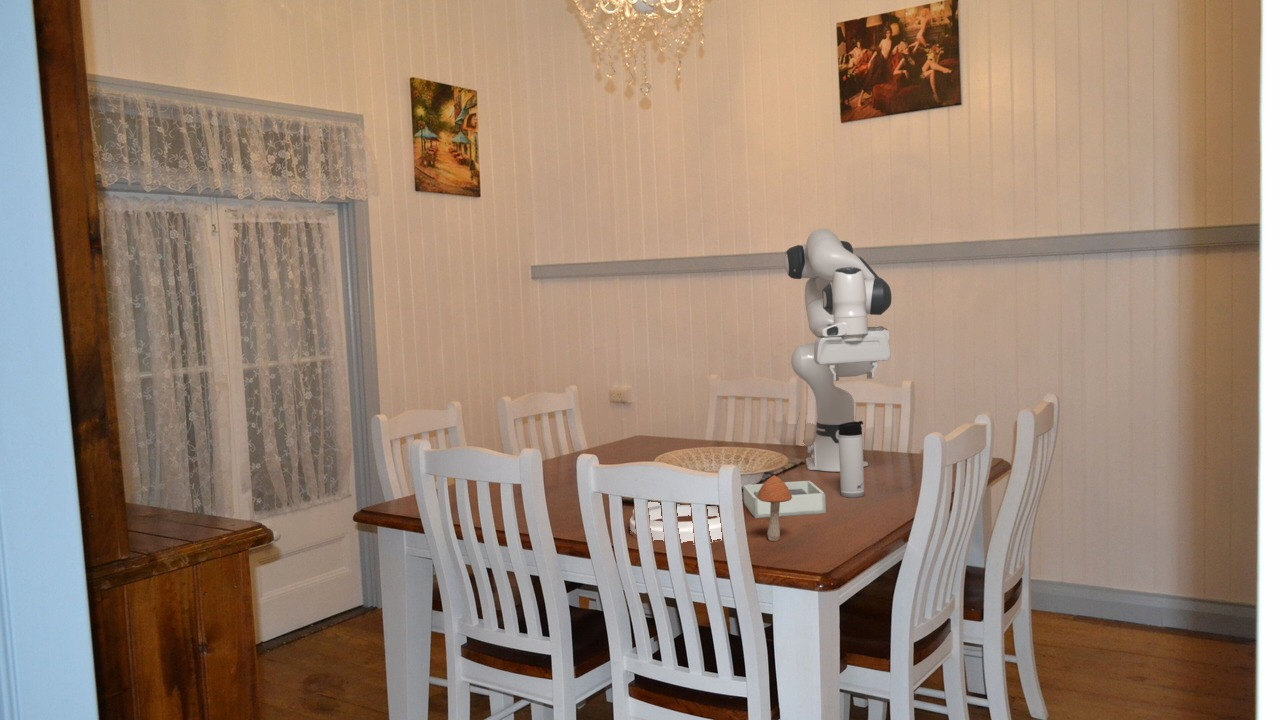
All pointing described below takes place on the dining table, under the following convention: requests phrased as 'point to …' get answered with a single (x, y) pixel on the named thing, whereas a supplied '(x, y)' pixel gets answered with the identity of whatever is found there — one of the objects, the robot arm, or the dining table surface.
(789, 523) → the dining table surface
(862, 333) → the robot arm
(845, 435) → the travel mug
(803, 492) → the crate
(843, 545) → the dining table surface
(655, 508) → the plate
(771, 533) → the mushroom
